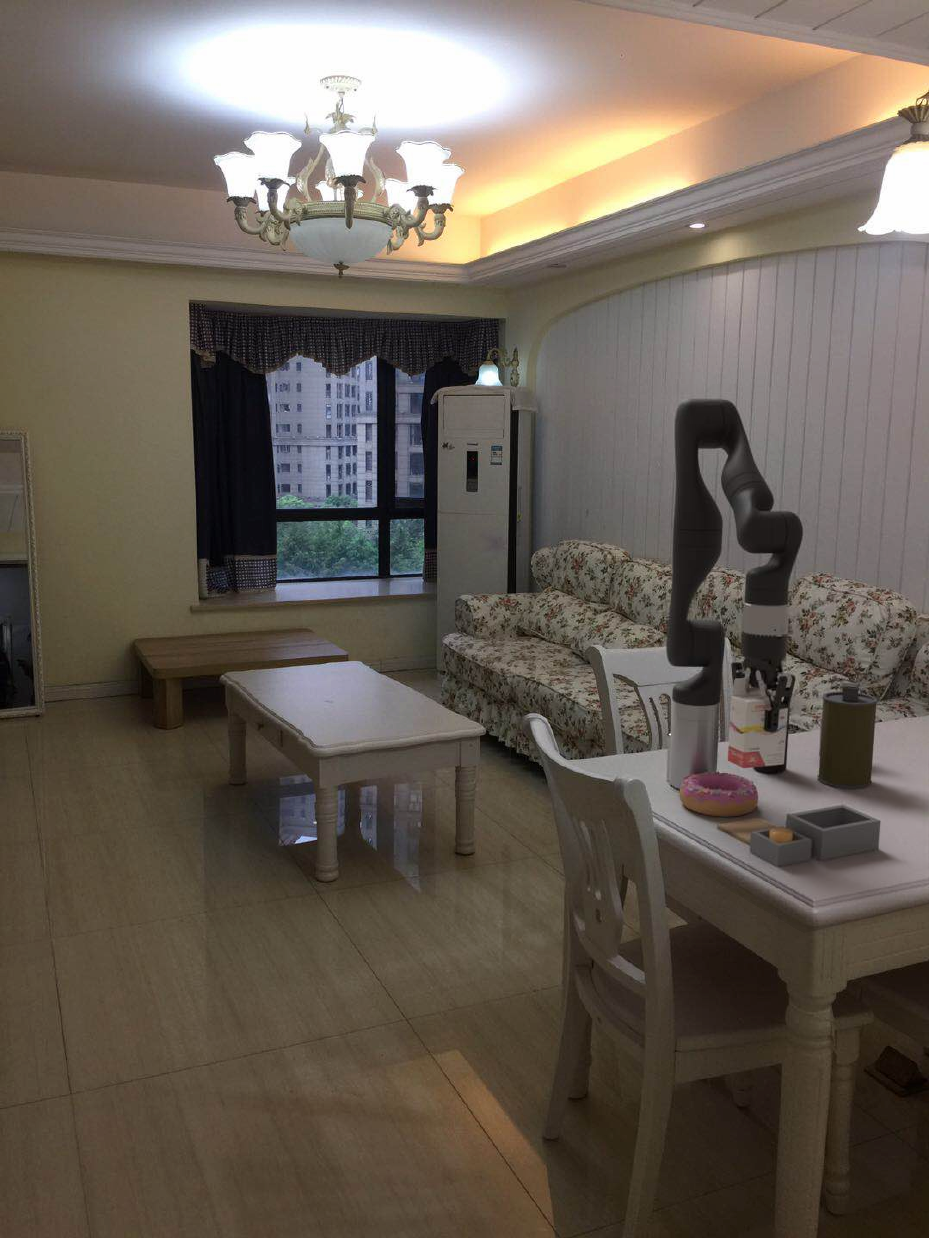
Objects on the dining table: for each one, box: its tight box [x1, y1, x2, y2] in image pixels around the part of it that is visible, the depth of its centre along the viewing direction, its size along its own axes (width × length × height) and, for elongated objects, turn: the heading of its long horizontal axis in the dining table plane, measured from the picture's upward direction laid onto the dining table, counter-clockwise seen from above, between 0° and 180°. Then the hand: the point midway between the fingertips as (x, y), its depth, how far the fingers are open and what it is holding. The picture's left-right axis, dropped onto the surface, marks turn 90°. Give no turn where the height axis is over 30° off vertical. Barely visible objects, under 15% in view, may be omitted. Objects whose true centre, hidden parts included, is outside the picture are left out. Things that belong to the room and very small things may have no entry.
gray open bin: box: [785, 804, 881, 862], centre depth 174 cm, size 8×12×5 cm
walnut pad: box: [716, 817, 777, 846], centre depth 181 cm, size 9×9×1 cm
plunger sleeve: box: [749, 825, 812, 868], centre depth 170 cm, size 7×7×4 cm
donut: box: [679, 771, 759, 818], centre depth 194 cm, size 14×14×5 cm
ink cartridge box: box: [727, 678, 788, 769], centre depth 177 cm, size 9×5×15 cm, turn 111°
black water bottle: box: [752, 688, 791, 775], centre depth 215 cm, size 7×7×20 cm
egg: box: [769, 828, 793, 843], centre depth 170 cm, size 4×4×4 cm
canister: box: [817, 682, 879, 790], centre depth 208 cm, size 11×10×20 cm
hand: (759, 726), depth 178 cm, fingers closed on ink cartridge box, 5 cm apart
